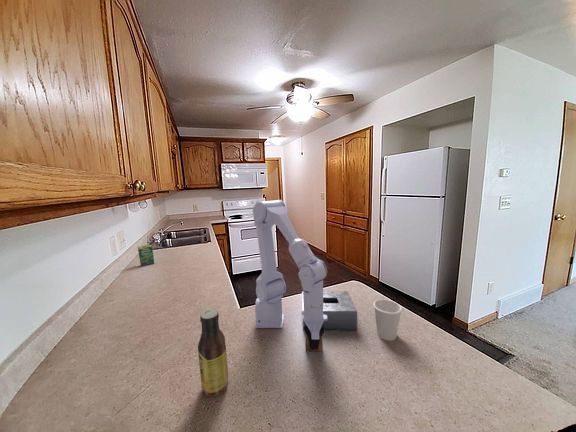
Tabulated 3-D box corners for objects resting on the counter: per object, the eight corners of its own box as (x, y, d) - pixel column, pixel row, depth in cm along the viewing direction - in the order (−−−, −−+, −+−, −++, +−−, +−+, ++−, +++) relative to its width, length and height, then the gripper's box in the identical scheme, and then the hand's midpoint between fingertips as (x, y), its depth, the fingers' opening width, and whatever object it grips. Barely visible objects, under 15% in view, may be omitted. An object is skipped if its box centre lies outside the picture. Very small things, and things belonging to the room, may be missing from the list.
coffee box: (140, 266, 143) (137, 247, 142) (139, 265, 146) (137, 246, 144) (154, 263, 148) (152, 244, 146) (154, 262, 150) (152, 244, 149)
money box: (303, 330, 75) (302, 311, 74) (302, 308, 89) (301, 291, 88) (356, 330, 74) (357, 311, 73) (347, 308, 88) (347, 291, 87)
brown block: (305, 352, 65) (305, 336, 64) (305, 347, 67) (305, 332, 66) (322, 352, 65) (322, 336, 64) (321, 347, 67) (321, 332, 66)
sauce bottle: (206, 377, 57) (200, 305, 55) (230, 375, 58) (225, 303, 55) (198, 402, 51) (190, 321, 48) (225, 399, 51) (220, 319, 49)
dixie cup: (379, 323, 77) (379, 296, 76) (404, 334, 72) (406, 305, 70) (368, 335, 72) (368, 306, 70) (395, 347, 66) (396, 316, 64)
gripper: (330, 316, 57) (331, 365, 58) (324, 290, 71) (324, 329, 73) (303, 317, 57) (304, 364, 59) (302, 290, 71) (302, 329, 73)
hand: (313, 345), depth 66 cm, fingers closed on brown block, 2 cm apart
